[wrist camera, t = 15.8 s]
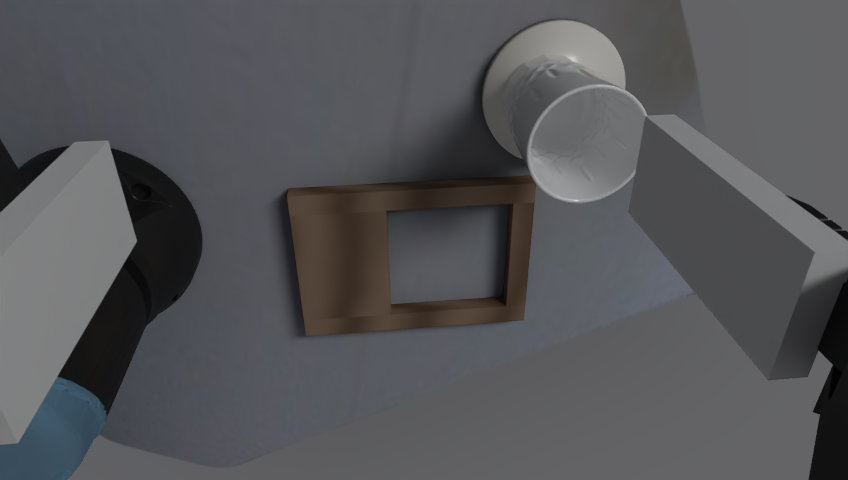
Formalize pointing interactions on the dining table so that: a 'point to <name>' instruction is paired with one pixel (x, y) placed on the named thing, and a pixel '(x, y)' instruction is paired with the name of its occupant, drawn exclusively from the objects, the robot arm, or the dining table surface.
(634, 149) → the white cup
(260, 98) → the dining table surface
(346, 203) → the board
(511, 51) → the coaster
